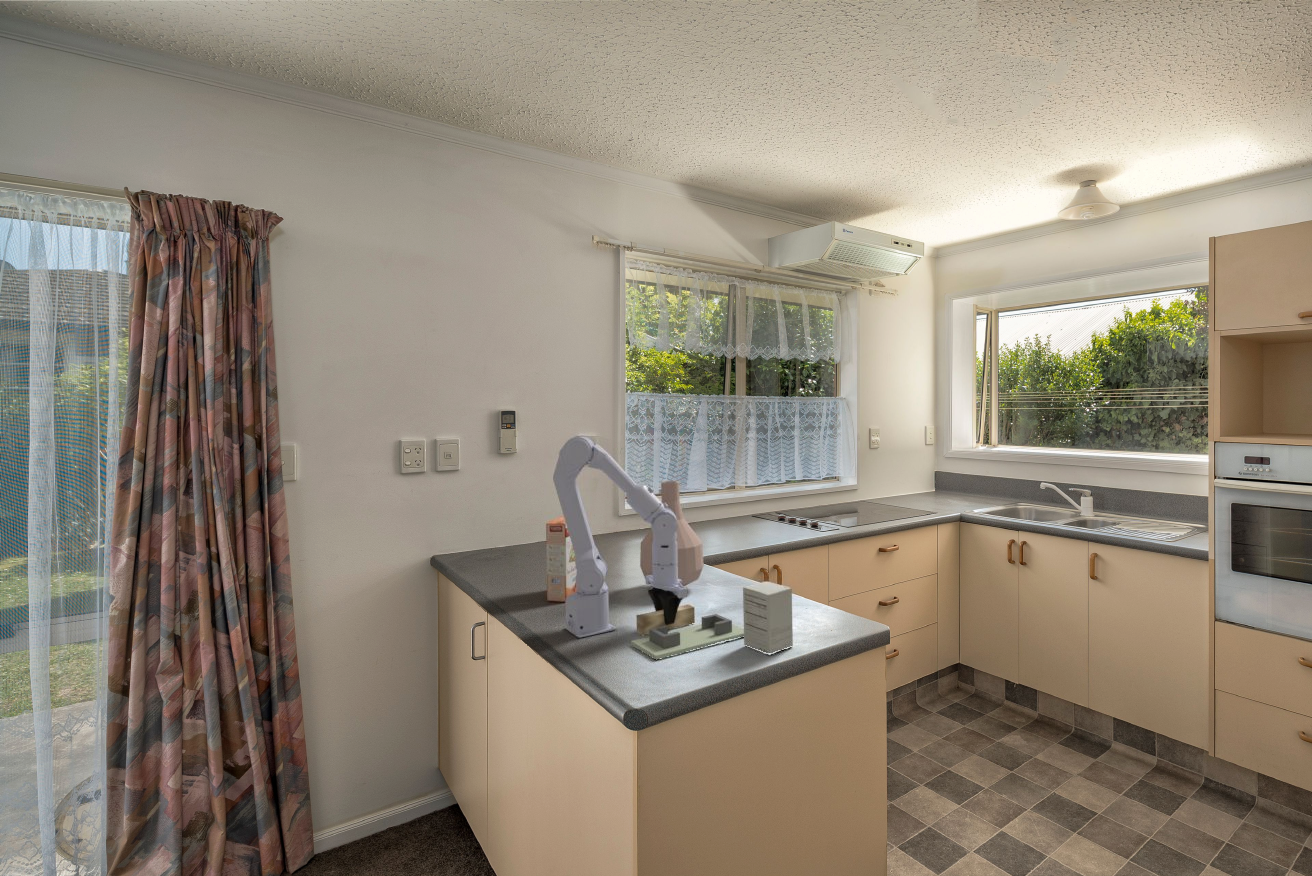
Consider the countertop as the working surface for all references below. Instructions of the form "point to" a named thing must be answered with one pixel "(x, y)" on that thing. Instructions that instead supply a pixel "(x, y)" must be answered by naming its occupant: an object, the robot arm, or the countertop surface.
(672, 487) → the vase
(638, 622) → the slat
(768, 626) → the supplement box
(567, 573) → the cracker box
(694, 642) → the board
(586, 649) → the countertop surface
